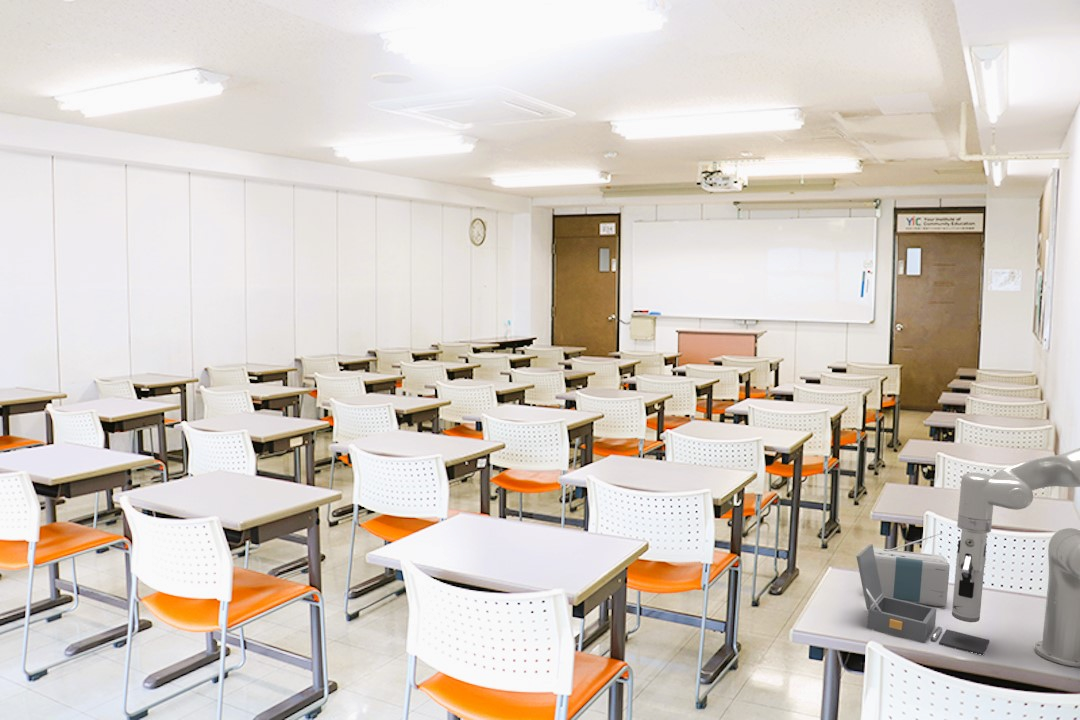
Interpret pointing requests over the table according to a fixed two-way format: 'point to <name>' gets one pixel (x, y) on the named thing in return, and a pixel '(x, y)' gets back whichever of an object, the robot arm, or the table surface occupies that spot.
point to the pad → (964, 642)
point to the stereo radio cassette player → (913, 575)
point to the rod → (936, 633)
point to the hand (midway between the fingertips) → (968, 592)
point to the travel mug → (962, 605)
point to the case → (892, 605)
